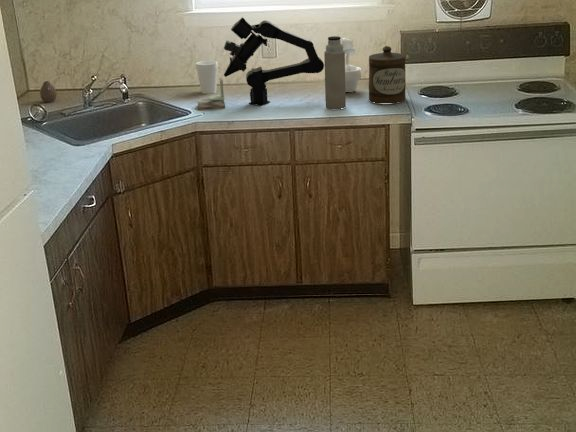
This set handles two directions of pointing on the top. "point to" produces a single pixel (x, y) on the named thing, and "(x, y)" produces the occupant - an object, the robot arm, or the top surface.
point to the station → (211, 105)
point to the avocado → (48, 92)
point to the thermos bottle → (334, 74)
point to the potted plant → (350, 67)
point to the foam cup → (207, 76)
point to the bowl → (204, 100)
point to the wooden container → (387, 77)
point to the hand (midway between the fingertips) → (224, 75)
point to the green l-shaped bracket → (218, 97)
